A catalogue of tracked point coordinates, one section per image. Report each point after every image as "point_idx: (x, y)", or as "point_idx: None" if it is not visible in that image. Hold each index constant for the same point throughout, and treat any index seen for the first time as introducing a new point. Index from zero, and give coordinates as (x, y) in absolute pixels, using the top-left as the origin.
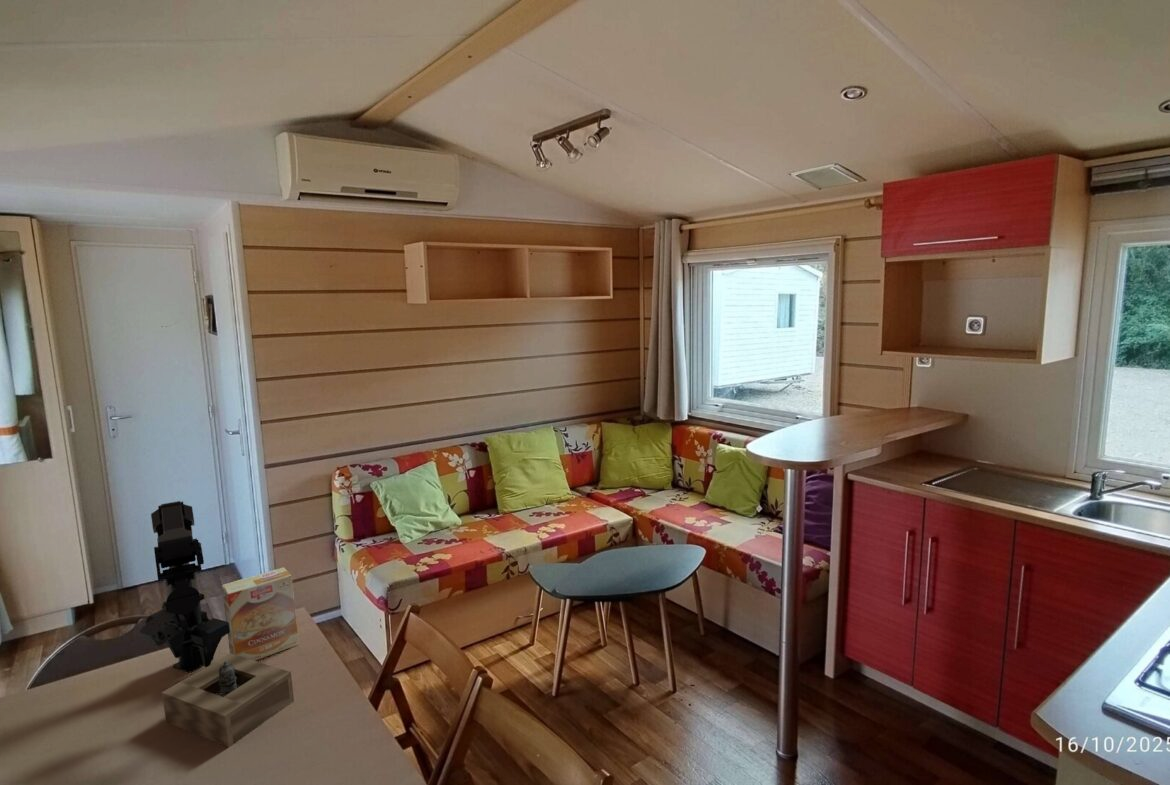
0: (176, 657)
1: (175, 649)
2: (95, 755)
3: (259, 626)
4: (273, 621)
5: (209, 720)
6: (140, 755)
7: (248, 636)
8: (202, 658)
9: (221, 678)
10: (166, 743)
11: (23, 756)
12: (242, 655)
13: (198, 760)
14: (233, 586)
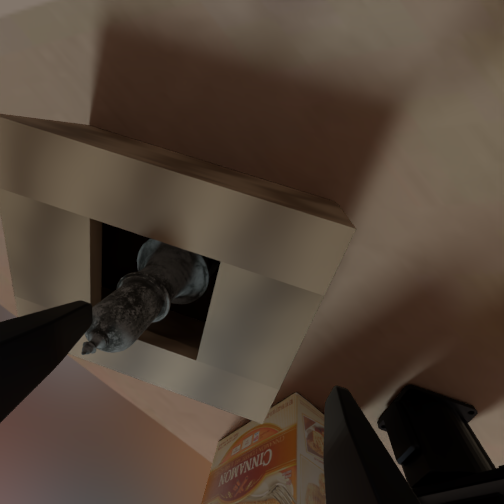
0: (337, 390)
1: (347, 456)
2: (486, 4)
3: None
4: None
5: (106, 141)
6: (307, 42)
7: (267, 480)
8: (6, 333)
9: (126, 290)
10: (265, 113)
11: None
12: (285, 421)
13: (119, 59)
14: None
